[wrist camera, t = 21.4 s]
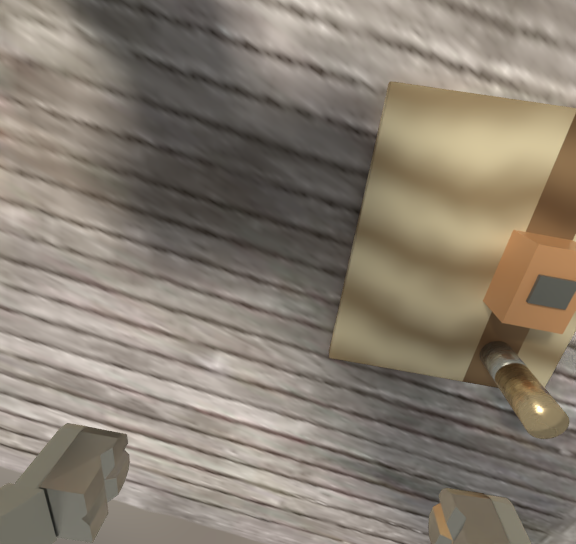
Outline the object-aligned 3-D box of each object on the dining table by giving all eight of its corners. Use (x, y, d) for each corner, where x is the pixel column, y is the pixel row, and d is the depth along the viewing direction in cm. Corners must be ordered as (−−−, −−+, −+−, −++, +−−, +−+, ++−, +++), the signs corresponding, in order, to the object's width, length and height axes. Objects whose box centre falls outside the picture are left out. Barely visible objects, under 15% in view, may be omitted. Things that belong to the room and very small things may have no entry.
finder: (513, 229, 30) (540, 245, 27) (572, 240, 30) (608, 257, 26) (482, 300, 33) (503, 324, 29) (536, 310, 33) (564, 336, 29)
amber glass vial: (485, 338, 35) (535, 405, 26) (516, 343, 35) (576, 412, 26) (475, 363, 36) (519, 434, 28) (505, 368, 36) (558, 441, 28)
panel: (388, 83, 28) (391, 81, 27) (673, 124, 27) (687, 124, 26) (328, 351, 39) (329, 357, 37) (534, 387, 38) (540, 395, 37)
